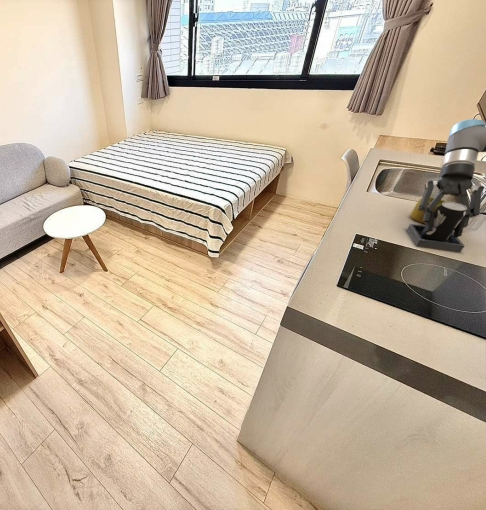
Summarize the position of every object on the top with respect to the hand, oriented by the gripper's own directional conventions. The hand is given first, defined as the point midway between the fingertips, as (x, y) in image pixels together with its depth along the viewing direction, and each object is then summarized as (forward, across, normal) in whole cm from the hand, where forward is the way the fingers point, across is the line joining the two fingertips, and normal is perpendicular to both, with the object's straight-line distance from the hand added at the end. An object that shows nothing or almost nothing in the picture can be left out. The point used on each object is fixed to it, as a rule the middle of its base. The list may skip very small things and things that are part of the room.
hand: (441, 233), depth 88 cm
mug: (-11, -2, -18) cm, 22 cm away
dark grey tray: (+1, 0, -6) cm, 6 cm away
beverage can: (0, 0, -5) cm, 5 cm away
